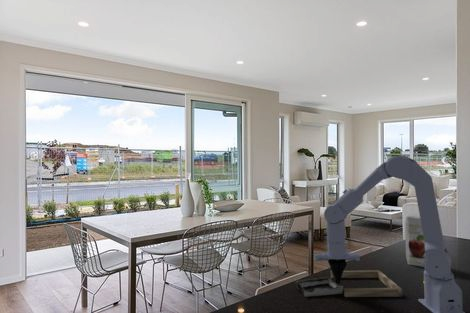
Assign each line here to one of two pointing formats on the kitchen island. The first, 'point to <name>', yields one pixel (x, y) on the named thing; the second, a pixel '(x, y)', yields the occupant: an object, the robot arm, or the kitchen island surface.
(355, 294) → the oak box frame
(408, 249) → the juice carton
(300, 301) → the kitchen island surface
